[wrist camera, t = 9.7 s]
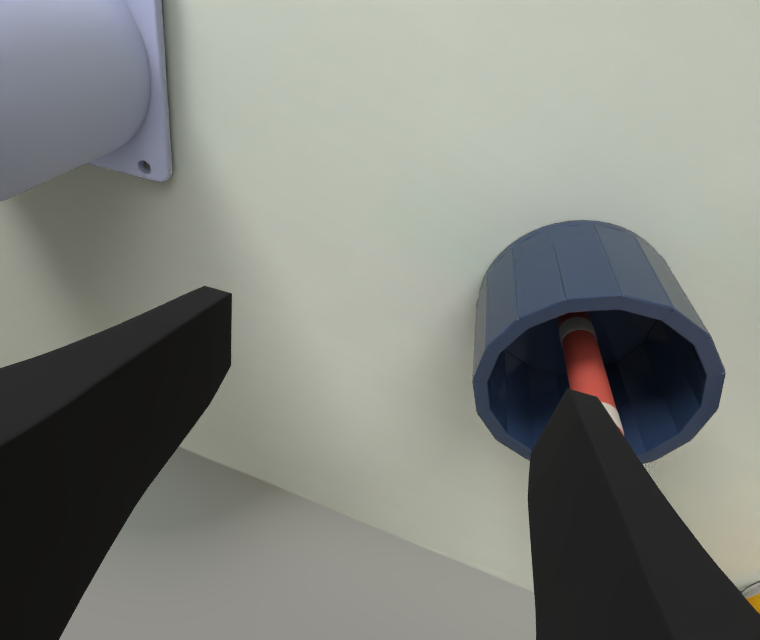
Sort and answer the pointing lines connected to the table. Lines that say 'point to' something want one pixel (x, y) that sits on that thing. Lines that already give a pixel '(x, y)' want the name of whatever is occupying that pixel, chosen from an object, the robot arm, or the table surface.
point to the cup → (613, 331)
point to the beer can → (753, 596)
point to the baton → (585, 360)
